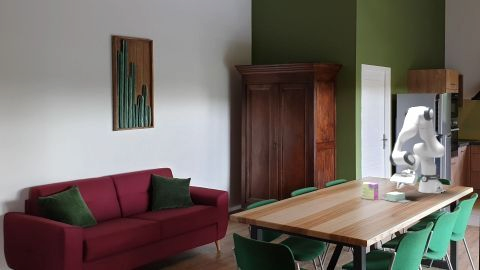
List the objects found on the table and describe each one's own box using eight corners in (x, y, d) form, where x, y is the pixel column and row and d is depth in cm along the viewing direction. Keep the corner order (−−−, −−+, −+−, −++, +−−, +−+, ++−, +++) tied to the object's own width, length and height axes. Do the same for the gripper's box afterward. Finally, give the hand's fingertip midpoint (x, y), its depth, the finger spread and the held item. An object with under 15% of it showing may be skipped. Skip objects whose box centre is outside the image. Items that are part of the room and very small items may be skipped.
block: (395, 191, 386) (385, 193, 379) (405, 192, 380) (394, 194, 372) (395, 198, 386) (385, 200, 379) (405, 199, 380) (394, 201, 373)
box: (378, 199, 385) (378, 183, 385) (373, 200, 381) (373, 184, 381) (366, 197, 393) (366, 182, 392) (362, 198, 389) (362, 182, 389)
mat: (388, 197, 390) (388, 197, 390) (411, 201, 374) (411, 201, 374) (380, 199, 385) (380, 198, 385) (403, 203, 369) (403, 202, 369)
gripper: (393, 170, 393) (385, 184, 388) (416, 172, 377) (408, 187, 372) (397, 175, 396) (388, 189, 391) (420, 178, 380) (412, 192, 374)
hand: (398, 188), depth 381 cm, fingers closed
